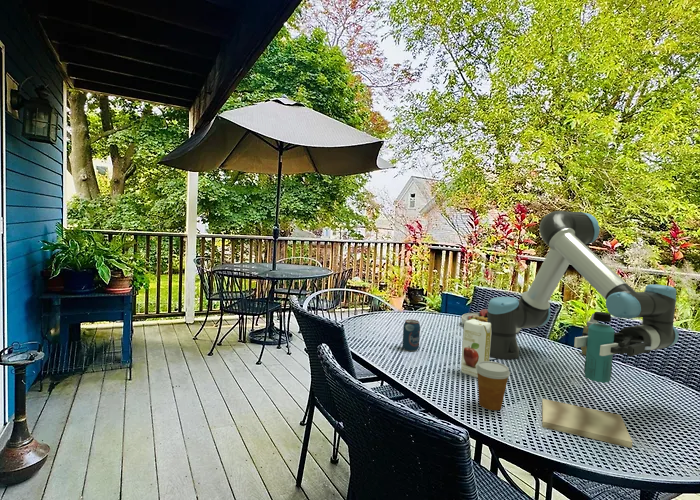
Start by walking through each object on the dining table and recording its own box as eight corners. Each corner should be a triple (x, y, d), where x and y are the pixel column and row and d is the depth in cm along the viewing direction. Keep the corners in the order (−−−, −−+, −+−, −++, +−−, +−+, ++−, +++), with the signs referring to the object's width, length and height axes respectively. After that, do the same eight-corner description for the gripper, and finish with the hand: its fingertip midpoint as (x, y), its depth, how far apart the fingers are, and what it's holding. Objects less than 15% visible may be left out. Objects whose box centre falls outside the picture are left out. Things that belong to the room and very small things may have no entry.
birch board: (542, 426, 107) (542, 421, 107) (542, 403, 122) (542, 398, 122) (631, 447, 99) (632, 442, 99) (620, 420, 113) (620, 414, 113)
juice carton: (468, 367, 149) (472, 317, 148) (490, 374, 143) (494, 322, 142) (458, 372, 144) (461, 320, 143) (480, 380, 138) (484, 326, 137)
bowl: (531, 338, 194) (533, 322, 194) (470, 335, 195) (471, 319, 194) (508, 322, 224) (509, 309, 224) (454, 320, 225) (455, 306, 224)
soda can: (411, 353, 163) (413, 324, 162) (398, 348, 169) (400, 320, 168) (422, 349, 168) (423, 321, 167) (409, 345, 173) (411, 318, 172)
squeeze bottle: (598, 353, 174) (602, 313, 173) (603, 359, 166) (607, 317, 165) (577, 351, 177) (581, 310, 175) (581, 356, 169) (585, 314, 168)
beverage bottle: (614, 389, 107) (622, 316, 106) (588, 386, 108) (594, 314, 107) (604, 380, 114) (610, 311, 112) (578, 377, 115) (585, 309, 113)
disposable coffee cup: (468, 398, 123) (471, 360, 122) (498, 398, 124) (501, 360, 123) (481, 413, 114) (484, 372, 113) (513, 413, 114) (516, 372, 113)
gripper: (674, 362, 110) (624, 373, 100) (603, 341, 127) (554, 348, 117) (677, 335, 109) (627, 343, 99) (605, 318, 126) (557, 323, 116)
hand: (588, 346), depth 108 cm, fingers closed on beverage bottle, 6 cm apart
